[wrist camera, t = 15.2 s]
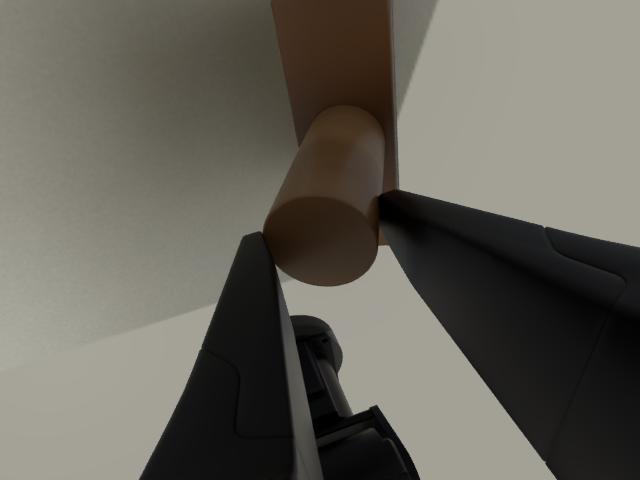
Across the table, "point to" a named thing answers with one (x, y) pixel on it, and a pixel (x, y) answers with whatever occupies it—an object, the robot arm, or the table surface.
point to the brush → (335, 137)
